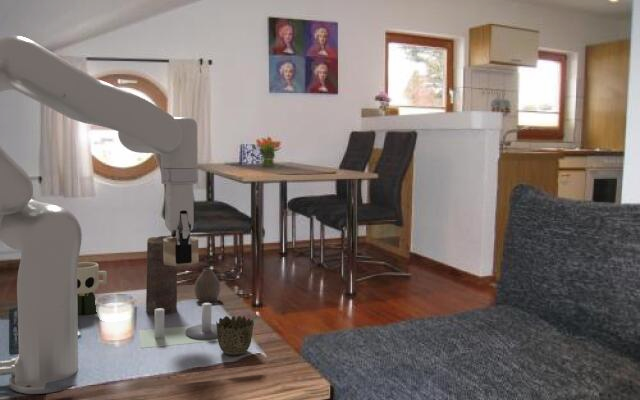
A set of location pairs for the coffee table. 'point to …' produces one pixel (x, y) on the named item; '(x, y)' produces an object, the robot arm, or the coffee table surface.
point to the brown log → (160, 279)
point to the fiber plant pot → (234, 335)
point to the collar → (169, 251)
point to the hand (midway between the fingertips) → (181, 258)
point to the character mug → (88, 286)
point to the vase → (207, 286)
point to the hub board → (179, 331)
